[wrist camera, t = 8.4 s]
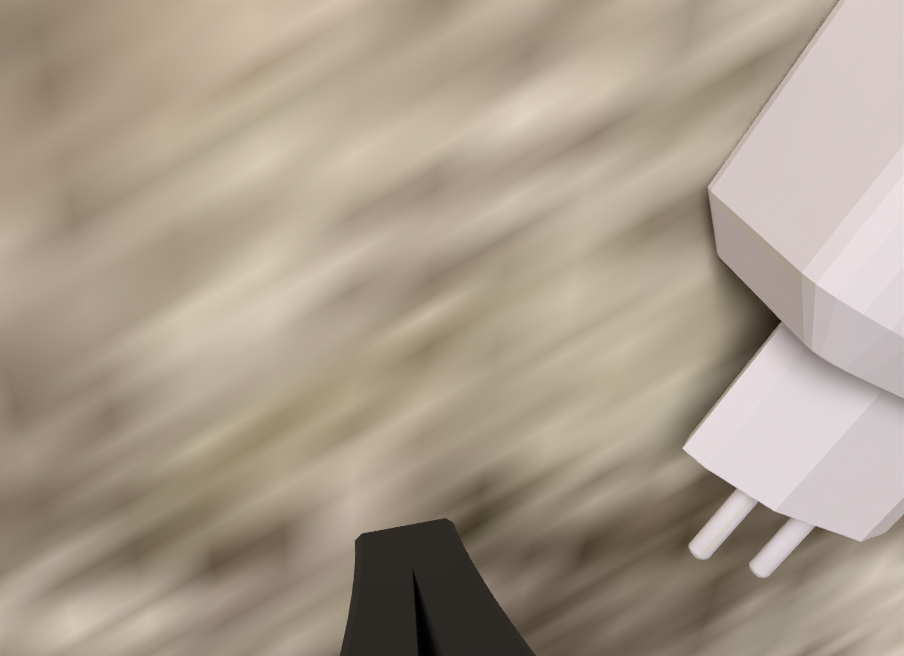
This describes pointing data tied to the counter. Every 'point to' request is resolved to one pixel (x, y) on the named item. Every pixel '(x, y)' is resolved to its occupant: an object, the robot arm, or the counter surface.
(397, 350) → the counter surface
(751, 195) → the charger
